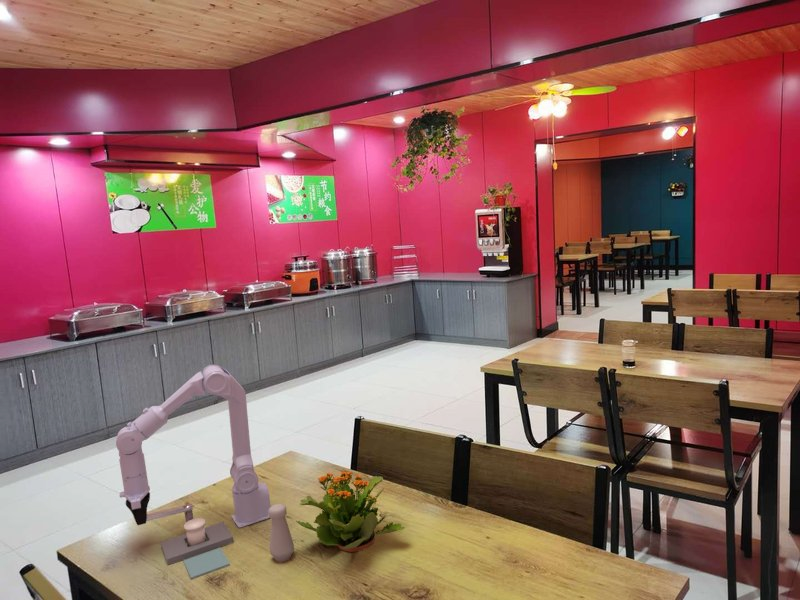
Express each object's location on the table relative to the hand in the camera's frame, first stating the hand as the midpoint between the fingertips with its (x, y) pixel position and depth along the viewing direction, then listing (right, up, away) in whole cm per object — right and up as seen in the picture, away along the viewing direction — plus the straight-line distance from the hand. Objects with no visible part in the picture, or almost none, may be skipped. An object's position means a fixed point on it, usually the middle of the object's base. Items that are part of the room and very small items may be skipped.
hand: (141, 523), depth 149 cm
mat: (+20, -6, -9) cm, 23 cm away
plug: (+15, -5, 0) cm, 16 cm away
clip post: (+10, -5, +6) cm, 13 cm away
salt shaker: (+38, -5, -10) cm, 40 cm away
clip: (+5, +1, +4) cm, 6 cm away
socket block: (+15, -5, 0) cm, 15 cm away
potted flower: (+56, -3, -6) cm, 56 cm away
